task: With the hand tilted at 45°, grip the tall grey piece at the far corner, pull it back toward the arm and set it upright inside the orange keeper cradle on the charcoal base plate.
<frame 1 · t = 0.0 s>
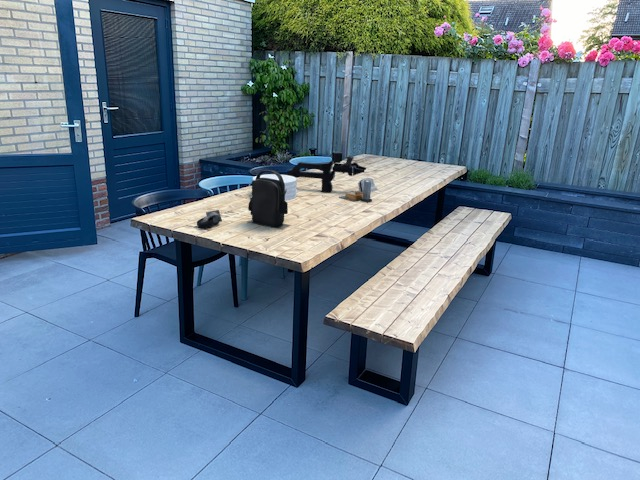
hand: (365, 169, 316), 17 cm above the table, tool horizontal, fingers open, 9 cm apart
plate stack: (274, 196, 309), on the table
caster wheel: (209, 227, 242), on the table
hinge: (366, 191, 332), on the table
keeper cradle: (355, 198, 309), on the table
grey piece: (366, 201, 303), on the table
shoulder bag: (269, 224, 250), on the table
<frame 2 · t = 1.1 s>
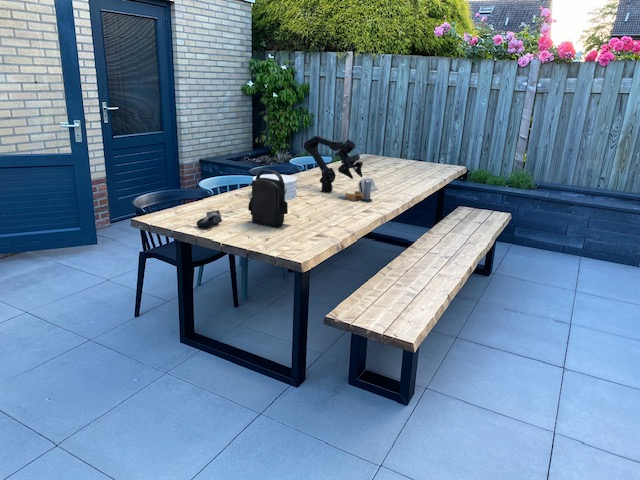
hand: (357, 177, 305), 14 cm above the table, tool tilted 45°, fingers open, 9 cm apart
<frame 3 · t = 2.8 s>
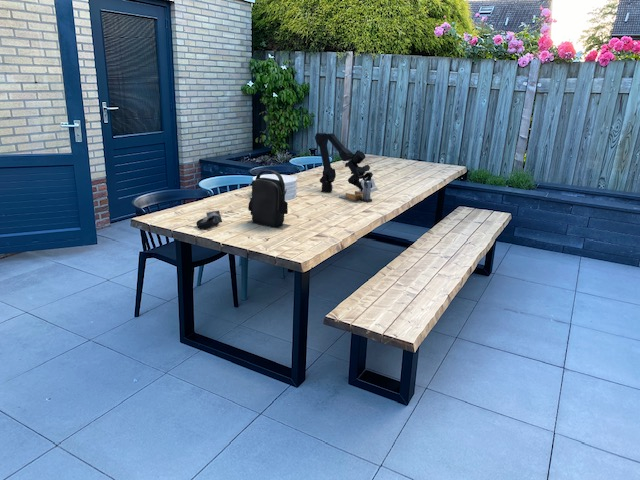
hand: (367, 188, 301), 8 cm above the table, tool tilted 45°, fingers open, 9 cm apart
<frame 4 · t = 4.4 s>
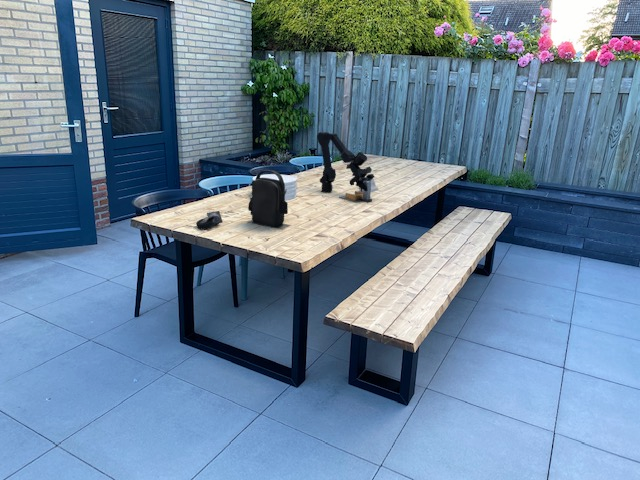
hand: (368, 190, 300), 7 cm above the table, tool tilted 45°, fingers closed on grey piece, 3 cm apart
grey piece: (366, 201, 303), on the table, touching gripper
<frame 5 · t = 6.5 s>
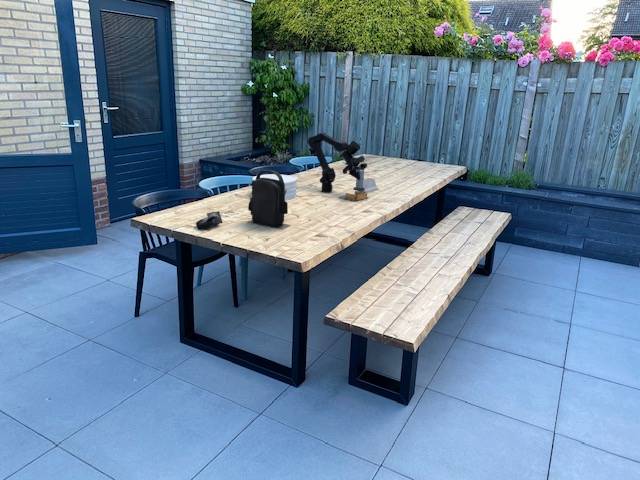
hand: (361, 179, 303), 13 cm above the table, tool tilted 45°, fingers closed on grey piece, 3 cm apart
grey piece: (359, 190, 306), point 6 cm above the table, touching gripper
when the fingers open (9 cm above the table, at t = 8.6 s): grey piece drops 2 cm, resting on keeper cradle.
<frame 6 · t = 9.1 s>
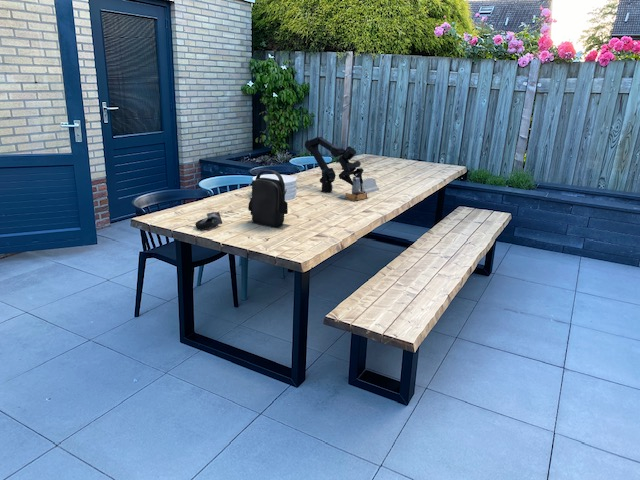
hand: (357, 184, 305), 10 cm above the table, tool tilted 45°, fingers open, 9 cm apart
grey piece: (355, 197, 309), point 1 cm above the table, touching keeper cradle
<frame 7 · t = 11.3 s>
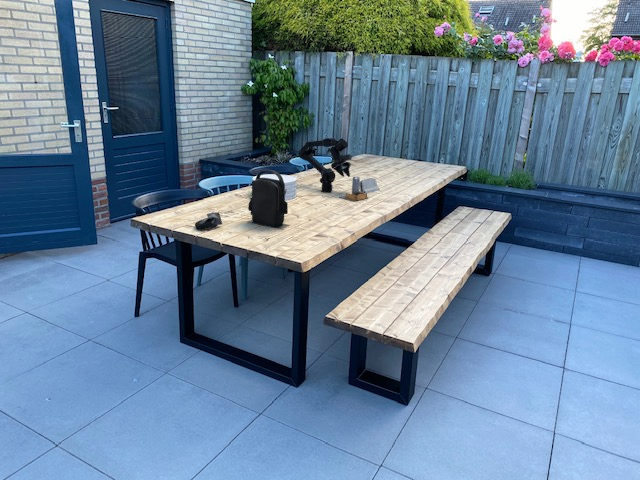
hand: (346, 176, 311), 13 cm above the table, tool tilted 35°, fingers open, 9 cm apart
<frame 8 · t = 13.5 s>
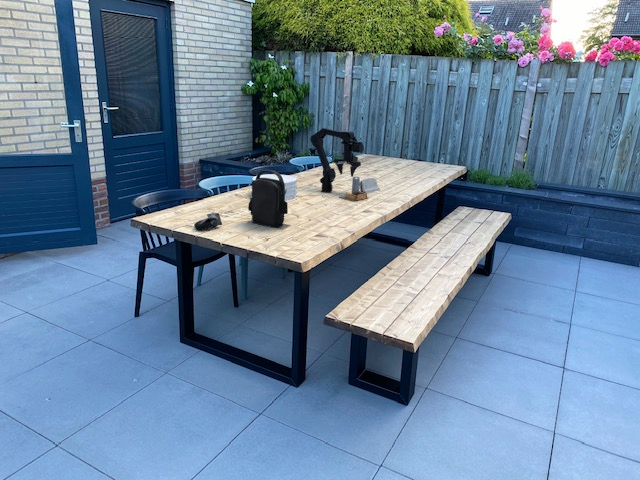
hand: (346, 175, 314), 13 cm above the table, tool pointing down, fingers open, 9 cm apart
at the end: grey piece 0.2 cm off-centre on the keeper cradle, point 0.6 cm above the keeper cradle's base; grey piece tilted 0°; the gripper is holding nothing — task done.
